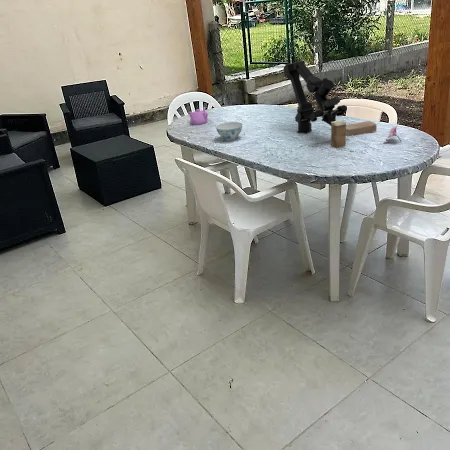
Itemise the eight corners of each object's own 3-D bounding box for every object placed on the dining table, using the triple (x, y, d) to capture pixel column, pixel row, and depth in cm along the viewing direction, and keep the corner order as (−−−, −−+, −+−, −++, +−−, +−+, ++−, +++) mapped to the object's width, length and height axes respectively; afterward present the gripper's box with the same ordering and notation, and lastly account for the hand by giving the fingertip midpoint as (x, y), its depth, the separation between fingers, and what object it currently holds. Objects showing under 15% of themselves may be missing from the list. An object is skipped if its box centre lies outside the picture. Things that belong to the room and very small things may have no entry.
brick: (347, 137, 235) (347, 128, 233) (341, 132, 242) (341, 124, 240) (377, 132, 236) (377, 123, 234) (370, 128, 244) (370, 120, 242)
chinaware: (230, 133, 263) (229, 120, 260) (249, 136, 253) (247, 123, 250) (212, 140, 254) (210, 127, 251) (230, 144, 244) (229, 130, 241)
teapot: (207, 119, 301) (205, 106, 297) (209, 124, 289) (207, 110, 285) (189, 121, 300) (187, 108, 296) (191, 126, 288) (189, 113, 284)
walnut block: (331, 145, 224) (331, 122, 219) (339, 143, 226) (339, 120, 220) (336, 148, 220) (337, 124, 215) (345, 145, 221) (345, 122, 216)
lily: (394, 138, 227) (385, 122, 224) (414, 133, 217) (405, 116, 214) (382, 152, 222) (373, 136, 219) (402, 147, 212) (393, 130, 209)
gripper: (312, 94, 216) (325, 121, 211) (345, 88, 221) (358, 114, 216) (304, 108, 226) (316, 134, 222) (336, 102, 231) (348, 127, 227)
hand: (335, 127), depth 221 cm, fingers closed
